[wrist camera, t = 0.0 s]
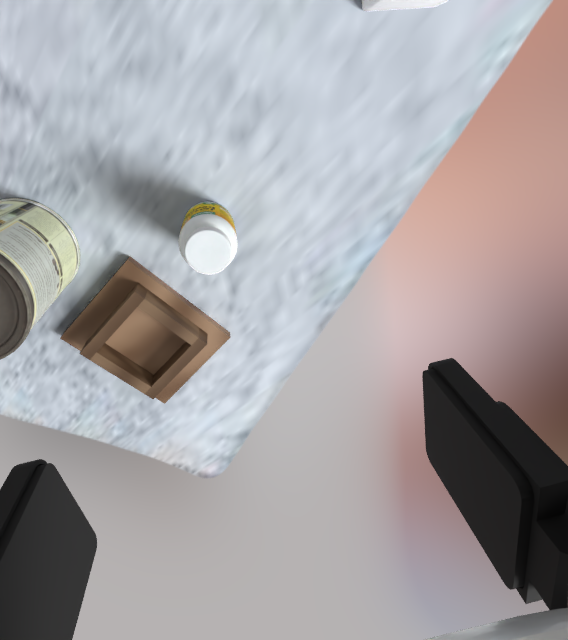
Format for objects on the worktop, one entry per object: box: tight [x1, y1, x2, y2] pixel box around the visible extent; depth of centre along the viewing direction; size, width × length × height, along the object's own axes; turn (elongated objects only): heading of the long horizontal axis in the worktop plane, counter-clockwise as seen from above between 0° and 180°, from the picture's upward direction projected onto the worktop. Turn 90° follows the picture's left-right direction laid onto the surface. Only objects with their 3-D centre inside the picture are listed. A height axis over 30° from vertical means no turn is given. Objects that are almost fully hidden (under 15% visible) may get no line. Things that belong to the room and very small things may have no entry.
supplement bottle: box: [179, 202, 238, 275], centre depth 41 cm, size 5×5×10 cm
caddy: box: [61, 257, 230, 403], centre depth 48 cm, size 14×12×4 cm
